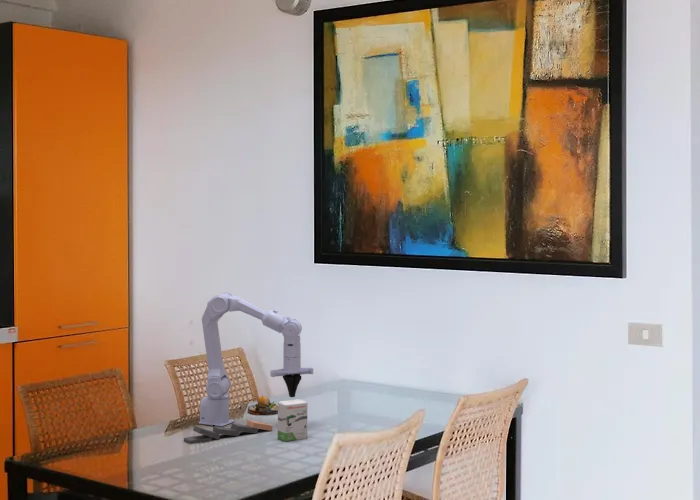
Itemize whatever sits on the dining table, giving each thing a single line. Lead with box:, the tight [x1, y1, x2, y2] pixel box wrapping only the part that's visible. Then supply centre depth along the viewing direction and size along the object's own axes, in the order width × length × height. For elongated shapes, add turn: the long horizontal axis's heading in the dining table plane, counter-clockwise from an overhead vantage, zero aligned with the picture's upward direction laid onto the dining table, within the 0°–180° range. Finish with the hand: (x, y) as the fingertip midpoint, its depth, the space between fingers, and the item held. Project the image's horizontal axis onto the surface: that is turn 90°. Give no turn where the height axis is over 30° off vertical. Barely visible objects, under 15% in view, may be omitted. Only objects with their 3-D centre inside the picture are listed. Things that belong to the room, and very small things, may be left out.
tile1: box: [245, 419, 274, 432], centre depth 308 cm, size 2×4×8 cm
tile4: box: [192, 425, 221, 440], centre depth 296 cm, size 2×4×8 cm
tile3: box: [212, 425, 241, 437], centre depth 301 cm, size 2×4×8 cm
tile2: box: [230, 422, 259, 434], centre depth 305 cm, size 2×4×8 cm
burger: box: [247, 394, 278, 417], centre depth 336 cm, size 12×12×8 cm
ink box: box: [277, 398, 308, 442], centre depth 299 cm, size 9×5×12 cm, turn 123°
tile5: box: [183, 434, 213, 445], centre depth 295 cm, size 2×4×8 cm
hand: (292, 396), depth 314 cm, fingers closed
